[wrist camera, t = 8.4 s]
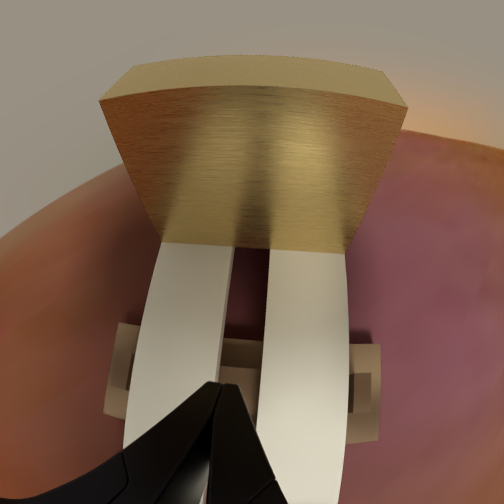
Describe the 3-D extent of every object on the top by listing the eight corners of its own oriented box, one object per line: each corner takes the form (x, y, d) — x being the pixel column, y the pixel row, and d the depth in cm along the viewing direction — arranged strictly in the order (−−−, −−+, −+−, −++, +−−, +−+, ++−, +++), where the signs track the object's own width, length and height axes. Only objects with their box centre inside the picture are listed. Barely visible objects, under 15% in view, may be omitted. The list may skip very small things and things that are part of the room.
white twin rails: (308, 595, 5) (317, 620, 2) (131, 572, 5) (111, 592, 3) (325, 146, 21) (331, 115, 18) (201, 139, 21) (196, 109, 19)
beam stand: (371, 438, 13) (397, 444, 10) (110, 413, 13) (80, 412, 10) (373, 346, 16) (398, 333, 13) (125, 326, 16) (100, 309, 13)
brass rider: (341, 260, 15) (408, 107, 7) (165, 248, 16) (98, 100, 7) (330, 163, 19) (355, 39, 11) (194, 156, 20) (171, 35, 11)
